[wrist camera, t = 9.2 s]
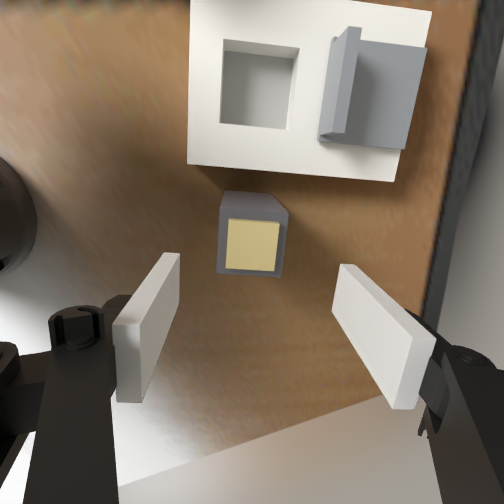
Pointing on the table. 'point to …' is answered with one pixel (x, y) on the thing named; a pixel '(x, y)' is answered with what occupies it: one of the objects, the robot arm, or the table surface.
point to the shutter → (369, 91)
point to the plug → (251, 234)
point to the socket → (281, 83)
